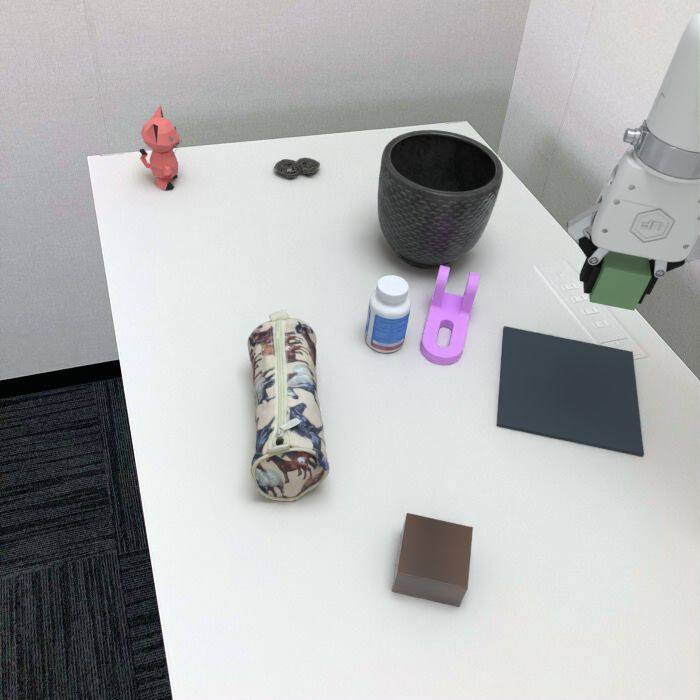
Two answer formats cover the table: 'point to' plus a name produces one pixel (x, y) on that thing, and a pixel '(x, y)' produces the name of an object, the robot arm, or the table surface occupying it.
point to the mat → (569, 391)
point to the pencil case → (286, 409)
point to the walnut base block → (433, 560)
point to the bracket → (448, 319)
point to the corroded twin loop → (296, 167)
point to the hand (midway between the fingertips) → (611, 289)
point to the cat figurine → (161, 149)
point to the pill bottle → (388, 314)
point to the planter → (436, 195)
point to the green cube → (621, 280)
